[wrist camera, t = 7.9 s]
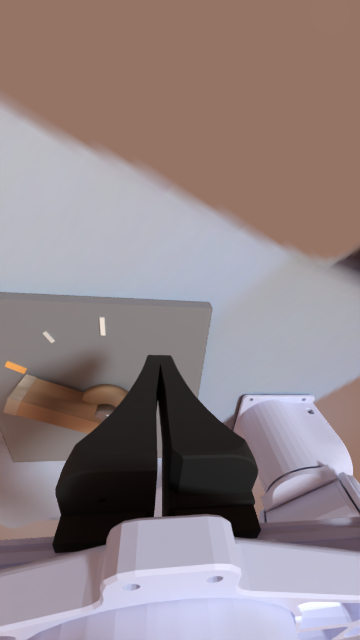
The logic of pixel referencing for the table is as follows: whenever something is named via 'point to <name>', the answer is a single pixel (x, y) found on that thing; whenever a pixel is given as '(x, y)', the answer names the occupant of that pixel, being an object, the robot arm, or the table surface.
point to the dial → (64, 403)
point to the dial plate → (89, 354)
